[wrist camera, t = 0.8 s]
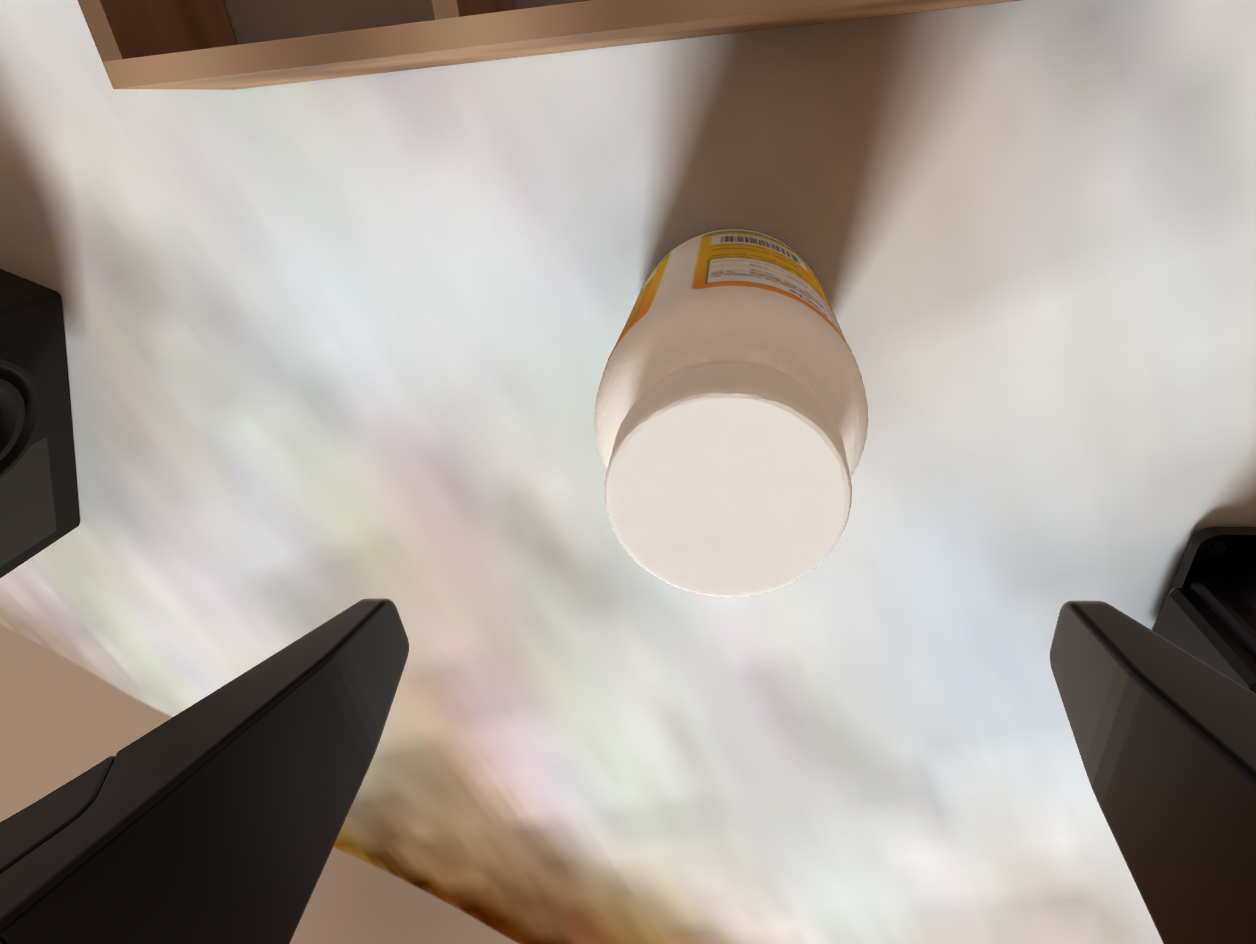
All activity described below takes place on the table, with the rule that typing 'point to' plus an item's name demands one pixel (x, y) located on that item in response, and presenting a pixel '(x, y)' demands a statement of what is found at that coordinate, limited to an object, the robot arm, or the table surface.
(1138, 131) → the table surface
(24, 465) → the digital camera
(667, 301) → the supplement bottle
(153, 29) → the bottle rack
